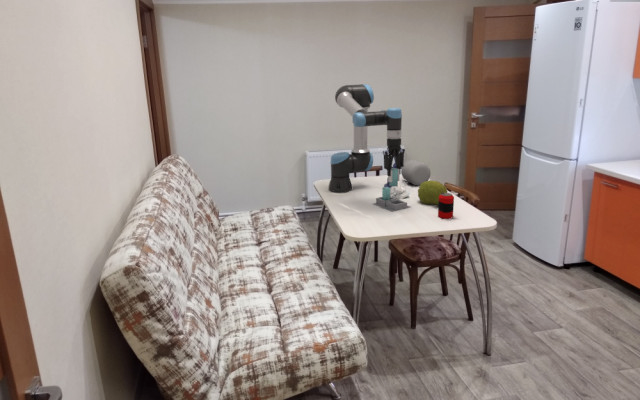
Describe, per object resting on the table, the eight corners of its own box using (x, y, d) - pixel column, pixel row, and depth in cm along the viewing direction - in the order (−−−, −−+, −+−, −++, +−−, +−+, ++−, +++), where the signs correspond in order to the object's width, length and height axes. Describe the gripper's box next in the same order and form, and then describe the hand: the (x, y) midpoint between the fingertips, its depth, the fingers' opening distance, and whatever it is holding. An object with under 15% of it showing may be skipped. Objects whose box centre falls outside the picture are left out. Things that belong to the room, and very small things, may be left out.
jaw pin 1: (380, 203, 265) (380, 187, 262) (386, 202, 267) (386, 186, 264) (385, 205, 261) (385, 189, 259) (391, 203, 263) (392, 188, 261)
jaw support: (410, 196, 268) (397, 184, 268) (398, 207, 271) (386, 195, 271) (410, 191, 280) (398, 179, 279) (399, 201, 283) (387, 190, 283)
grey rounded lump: (400, 180, 298) (390, 166, 321) (413, 195, 304) (403, 181, 326) (423, 160, 295) (411, 148, 317) (436, 176, 300) (424, 163, 323)
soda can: (441, 213, 248) (442, 191, 244) (455, 216, 243) (456, 193, 240) (435, 217, 242) (436, 194, 239) (449, 219, 238) (450, 197, 234)
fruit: (442, 199, 272) (452, 179, 262) (440, 215, 262) (451, 195, 252) (415, 190, 273) (424, 170, 263) (413, 205, 262) (422, 185, 252)
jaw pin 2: (387, 185, 255) (387, 169, 253) (394, 184, 257) (394, 167, 255) (393, 186, 251) (393, 170, 249) (399, 185, 253) (399, 169, 251)
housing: (371, 205, 265) (371, 198, 264) (390, 201, 272) (390, 194, 270) (391, 213, 250) (391, 206, 249) (411, 208, 257) (412, 201, 256)
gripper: (385, 140, 240) (385, 184, 246) (411, 137, 248) (410, 180, 254) (376, 138, 246) (376, 182, 252) (402, 135, 255) (401, 177, 261)
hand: (393, 181), depth 253 cm, fingers closed on jaw pin 2, 4 cm apart
